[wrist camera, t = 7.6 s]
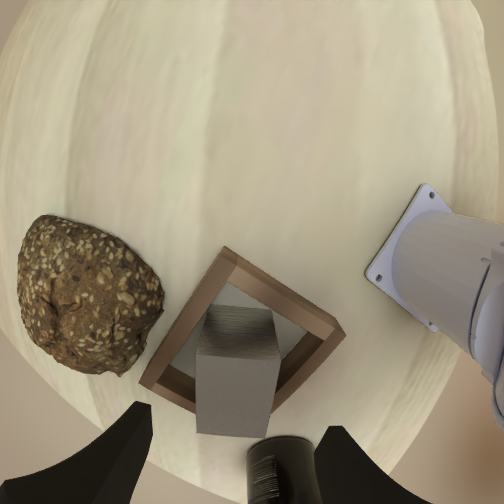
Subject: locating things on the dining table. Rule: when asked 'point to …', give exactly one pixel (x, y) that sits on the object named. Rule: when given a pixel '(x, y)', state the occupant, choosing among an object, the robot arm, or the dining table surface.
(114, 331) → the bread roll
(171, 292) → the dining table surface
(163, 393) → the wooden frame
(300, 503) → the supplement bottle
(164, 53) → the dining table surface
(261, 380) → the steel bracket block
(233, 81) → the dining table surface
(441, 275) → the robot arm
